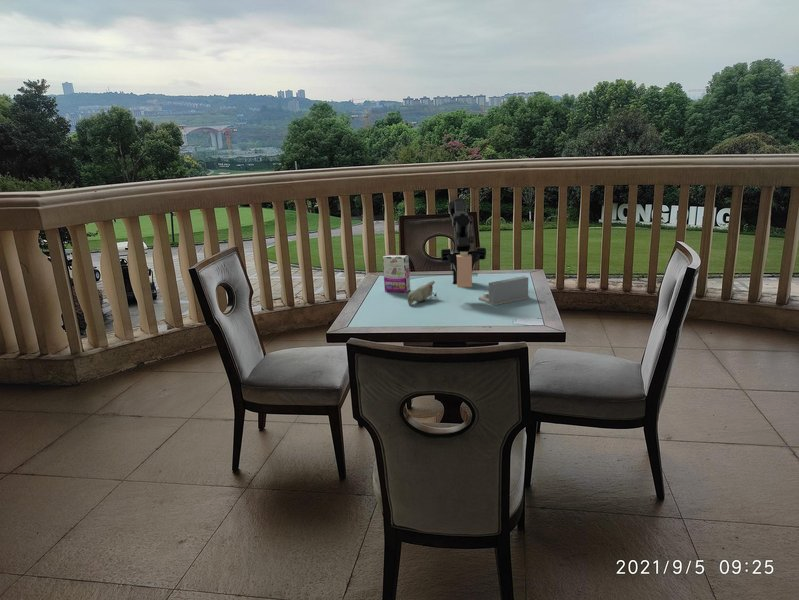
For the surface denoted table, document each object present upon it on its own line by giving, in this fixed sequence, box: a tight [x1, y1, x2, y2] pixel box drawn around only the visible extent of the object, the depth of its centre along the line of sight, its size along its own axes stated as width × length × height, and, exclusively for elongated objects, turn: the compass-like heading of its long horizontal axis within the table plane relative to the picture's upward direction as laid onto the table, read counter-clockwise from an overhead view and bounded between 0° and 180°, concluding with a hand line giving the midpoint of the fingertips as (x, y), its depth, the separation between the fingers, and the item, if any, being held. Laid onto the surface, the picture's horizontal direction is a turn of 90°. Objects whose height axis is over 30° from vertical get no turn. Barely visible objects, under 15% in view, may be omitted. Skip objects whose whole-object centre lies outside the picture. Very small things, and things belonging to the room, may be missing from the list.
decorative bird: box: [407, 280, 438, 306], centre depth 231 cm, size 5×16×8 cm, turn 135°
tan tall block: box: [456, 252, 473, 288], centre depth 225 cm, size 4×6×15 cm, turn 87°
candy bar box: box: [382, 254, 411, 293], centre depth 247 cm, size 11×5×16 cm, turn 68°
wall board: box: [478, 275, 530, 306], centre depth 228 cm, size 11×18×9 cm, turn 117°
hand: (464, 271), depth 224 cm, fingers closed on tan tall block, 6 cm apart
